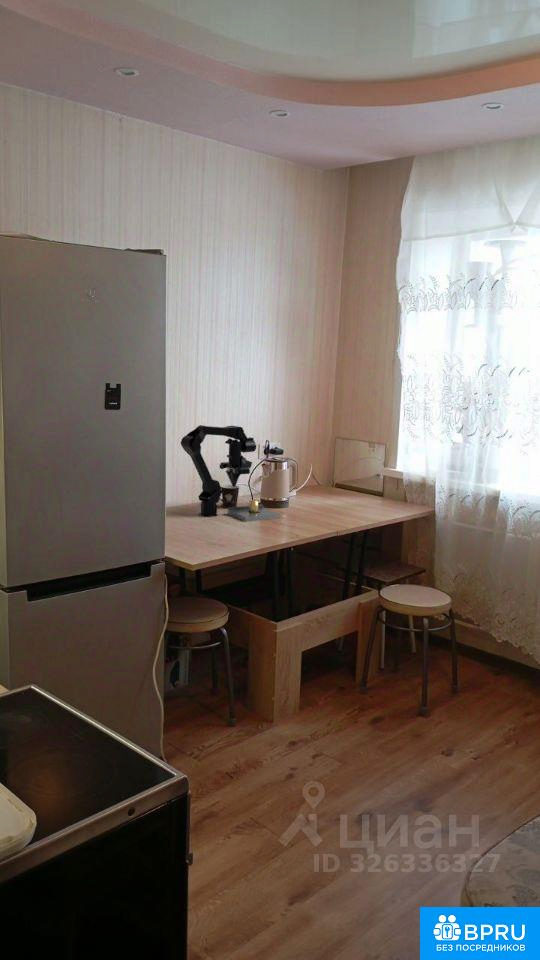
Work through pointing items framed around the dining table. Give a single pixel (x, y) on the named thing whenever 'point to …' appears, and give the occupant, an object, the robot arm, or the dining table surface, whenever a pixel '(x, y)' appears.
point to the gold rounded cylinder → (253, 506)
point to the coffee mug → (229, 495)
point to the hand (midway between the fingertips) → (233, 486)
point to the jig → (245, 515)
